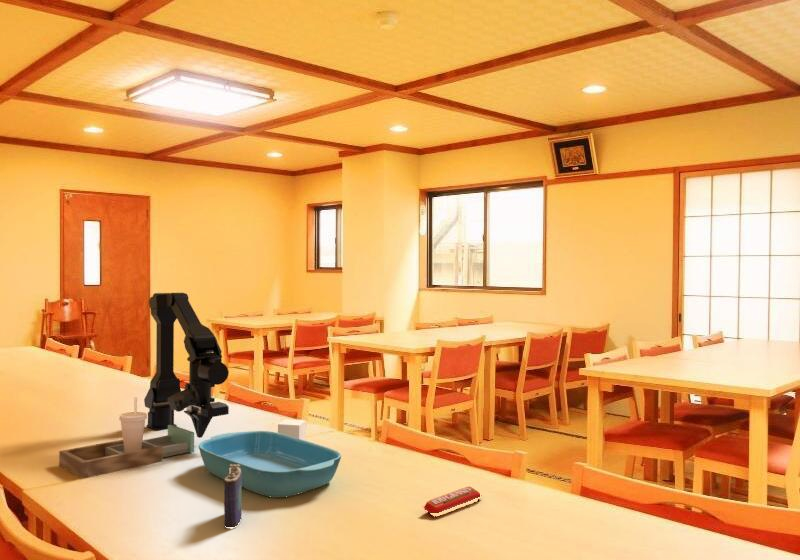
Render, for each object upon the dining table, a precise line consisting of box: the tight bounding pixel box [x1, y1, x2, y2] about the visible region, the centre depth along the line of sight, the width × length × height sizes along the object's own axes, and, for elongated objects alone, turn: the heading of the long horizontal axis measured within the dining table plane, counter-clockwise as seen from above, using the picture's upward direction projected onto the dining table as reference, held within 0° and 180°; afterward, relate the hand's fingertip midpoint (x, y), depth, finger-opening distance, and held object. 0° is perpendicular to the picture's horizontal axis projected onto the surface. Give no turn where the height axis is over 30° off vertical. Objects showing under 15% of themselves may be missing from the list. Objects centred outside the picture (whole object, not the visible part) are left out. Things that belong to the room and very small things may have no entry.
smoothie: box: [118, 396, 148, 453], centre depth 165 cm, size 6×6×14 cm
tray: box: [105, 425, 195, 459], centre depth 168 cm, size 18×12×5 cm, turn 138°
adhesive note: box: [277, 418, 307, 441], centre depth 182 cm, size 6×6×6 cm
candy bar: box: [423, 486, 481, 514], centre depth 136 cm, size 16×4×3 cm, turn 135°
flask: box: [223, 464, 242, 527], centre depth 127 cm, size 9×3×11 cm, turn 8°
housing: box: [58, 438, 163, 479], centre depth 161 cm, size 19×13×4 cm
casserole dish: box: [197, 430, 342, 498], centre depth 153 cm, size 37×22×7 cm, turn 49°
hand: (199, 437), depth 179 cm, fingers closed
